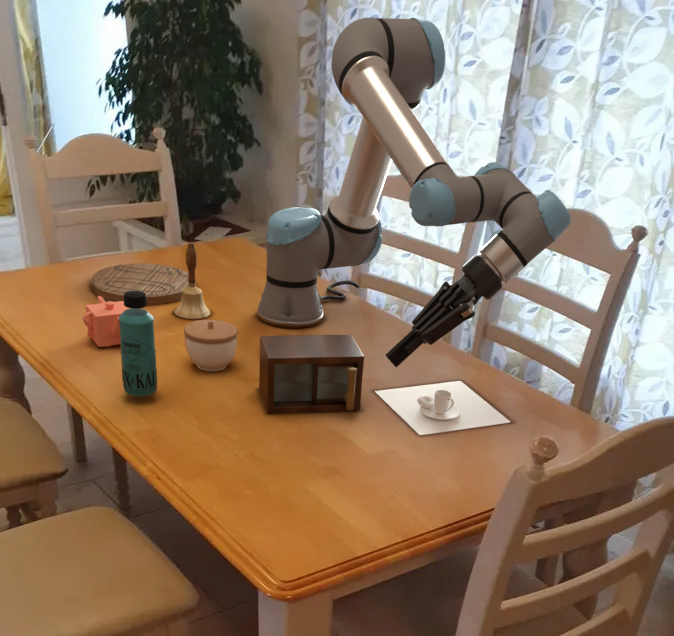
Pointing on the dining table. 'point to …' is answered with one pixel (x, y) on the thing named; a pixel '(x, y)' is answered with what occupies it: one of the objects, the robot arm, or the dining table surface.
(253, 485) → the dining table surface
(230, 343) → the trinket box
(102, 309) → the teapot
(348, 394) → the door
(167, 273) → the trivet
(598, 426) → the dining table surface
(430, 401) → the teacup and saucer
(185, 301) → the hand bell
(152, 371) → the beverage bottle
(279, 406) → the cabinet
